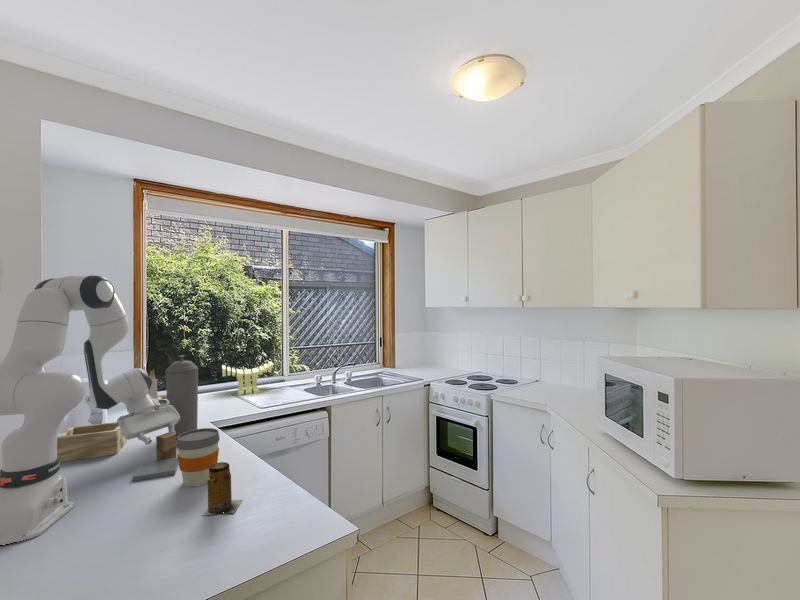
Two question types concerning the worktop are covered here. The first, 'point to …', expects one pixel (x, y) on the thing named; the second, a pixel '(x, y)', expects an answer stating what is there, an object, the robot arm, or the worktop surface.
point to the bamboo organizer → (90, 441)
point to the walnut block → (166, 446)
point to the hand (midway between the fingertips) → (161, 438)
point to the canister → (183, 393)
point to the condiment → (220, 490)
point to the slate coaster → (156, 469)
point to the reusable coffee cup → (197, 454)
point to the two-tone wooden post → (153, 387)
